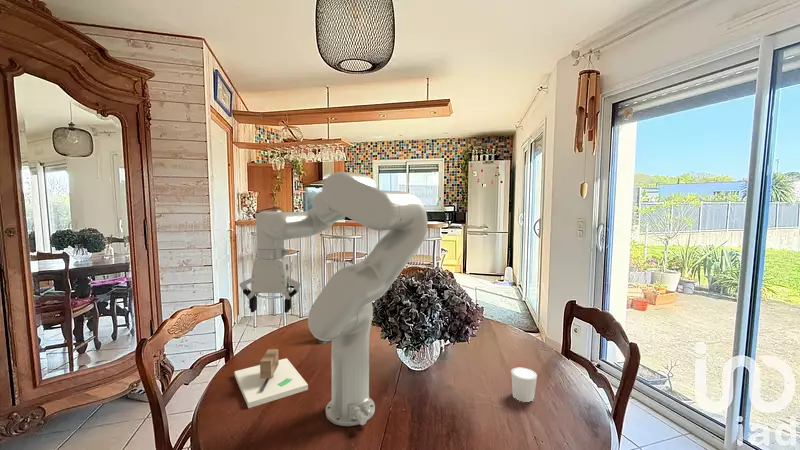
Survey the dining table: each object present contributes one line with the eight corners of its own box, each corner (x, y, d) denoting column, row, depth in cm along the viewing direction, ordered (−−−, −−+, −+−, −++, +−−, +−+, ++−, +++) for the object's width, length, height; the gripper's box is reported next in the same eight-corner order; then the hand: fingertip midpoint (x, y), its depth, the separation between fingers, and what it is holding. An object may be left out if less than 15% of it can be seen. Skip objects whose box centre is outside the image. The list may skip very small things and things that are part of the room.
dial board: (307, 389, 100) (307, 384, 100) (248, 408, 91) (248, 402, 91) (286, 362, 116) (286, 357, 116) (234, 376, 107) (234, 370, 107)
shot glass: (519, 405, 93) (520, 380, 92) (505, 392, 100) (506, 368, 99) (541, 402, 95) (542, 377, 94) (526, 388, 101) (527, 365, 101)
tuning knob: (268, 370, 107) (268, 349, 107) (278, 370, 107) (278, 349, 107) (255, 391, 95) (255, 368, 95) (267, 391, 96) (266, 367, 95)
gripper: (303, 252, 105) (303, 307, 107) (245, 251, 104) (245, 306, 106) (297, 256, 98) (297, 316, 99) (234, 255, 97) (235, 315, 98)
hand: (270, 311), depth 103 cm, fingers open, 9 cm apart
